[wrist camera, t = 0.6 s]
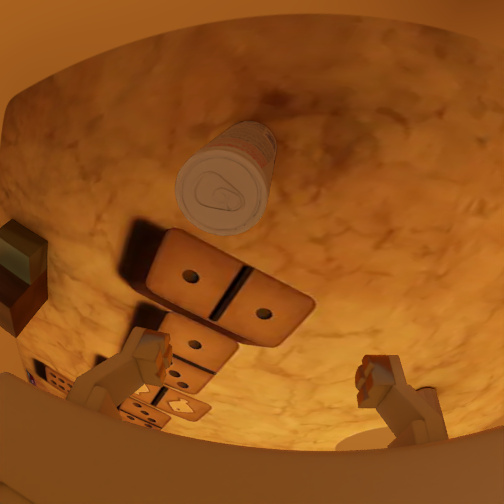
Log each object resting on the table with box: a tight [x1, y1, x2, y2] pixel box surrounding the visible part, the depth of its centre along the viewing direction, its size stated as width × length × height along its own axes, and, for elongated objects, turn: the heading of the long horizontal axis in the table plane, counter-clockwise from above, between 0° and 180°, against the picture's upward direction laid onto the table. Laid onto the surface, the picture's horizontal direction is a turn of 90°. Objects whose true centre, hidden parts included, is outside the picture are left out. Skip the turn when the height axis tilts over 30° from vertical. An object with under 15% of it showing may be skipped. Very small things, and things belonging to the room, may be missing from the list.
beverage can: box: [175, 121, 277, 236], centre depth 24 cm, size 6×6×15 cm
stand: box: [0, 219, 48, 338], centre depth 38 cm, size 14×9×11 cm, turn 154°
